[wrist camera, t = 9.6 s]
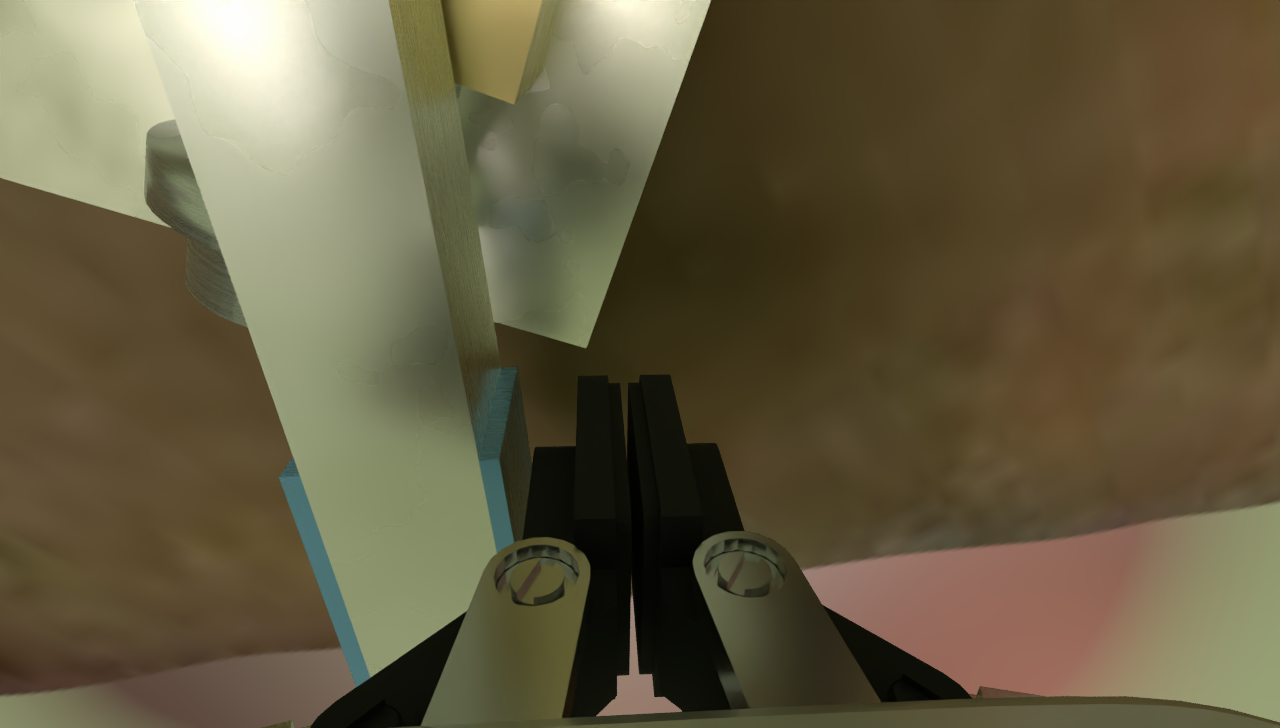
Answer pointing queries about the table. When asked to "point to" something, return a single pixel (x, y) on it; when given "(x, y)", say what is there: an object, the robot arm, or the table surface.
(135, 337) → the table surface
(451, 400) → the lever
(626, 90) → the valve
